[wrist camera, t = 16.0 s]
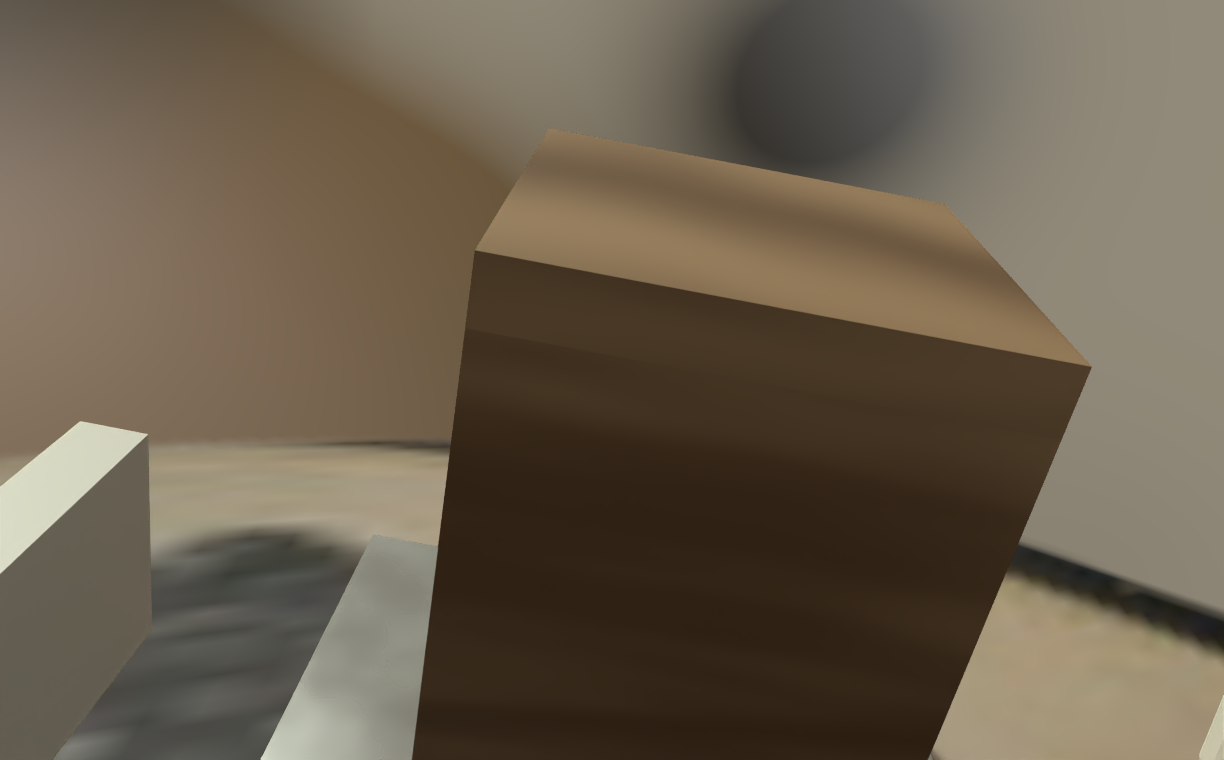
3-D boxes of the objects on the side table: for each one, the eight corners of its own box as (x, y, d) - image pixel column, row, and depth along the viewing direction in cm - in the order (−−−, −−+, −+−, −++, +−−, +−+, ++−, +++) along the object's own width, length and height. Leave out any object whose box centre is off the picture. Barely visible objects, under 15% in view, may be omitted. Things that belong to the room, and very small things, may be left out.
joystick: (1022, 1360, 15) (1320, 946, 11) (98, 1200, 15) (62, 719, 11) (868, 702, 28) (981, 397, 24) (366, 610, 28) (395, 287, 24)
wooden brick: (825, 1006, 17) (1091, 366, 12) (390, 929, 17) (475, 250, 12) (784, 697, 24) (944, 204, 19) (473, 640, 24) (549, 128, 19)
